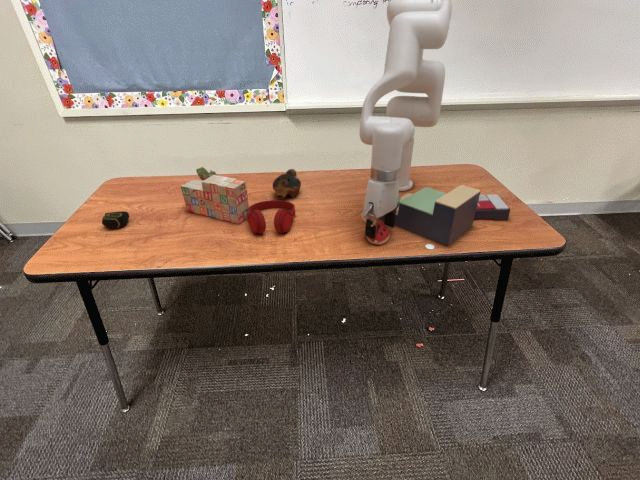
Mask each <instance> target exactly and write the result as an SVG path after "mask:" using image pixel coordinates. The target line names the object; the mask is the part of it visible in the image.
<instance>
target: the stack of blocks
mask: <svg viewBox="0 0 640 480" xmlns="http://www.w3.org/2000/svg"><path fill="white" fill-rule="evenodd" d="M217 175H218V174H217ZM217 175H212V176H211V177H209V178H207V179H206V180H204V181H203V180H201V179H200V180H199V179H191V180H189V181H187V182H185V183H184V184H182V185H180V189H181V194H182V196H183V200H184V205H185V208H186V211H187V212H190V213H194V214H198V215H201V216H205V217H211V218H214V219H218V220H222V221H225V222H229V223H233V224H237V225H240V224H241V223H242V222H244V221H245V220H246V218H247V211H248V208H249V207H250V206H249V205H250V204H249V197H248V196H249V195H248V190H247V181H246V180H243V179H238V178H236V177H235V178H234V177H229V176H223V175H222V176H221V175H218V176H217Z"/></svg>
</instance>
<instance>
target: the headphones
mask: <svg viewBox="0 0 640 480" xmlns="http://www.w3.org/2000/svg"><path fill="white" fill-rule="evenodd" d="M266 209H278V210H277V211H276V213H275V214H274V218H273V226H274V230H275V231H276V232H277V233H280V234H281V233H282V234H283V233H288V232H289V231H290V230H291V227H292V224H293V222H294V218H296V205H295V204H294V203H293V202H290V201H287V200H282V199H278V200H277V199H274V200H272V199H271V200H264V201H259V202H256V203H254V204H251V205H250V206H249V208H248V211H247V218H246V219H245V220H246V221H248V224H249V227H250V230H251V232H252V233H253V234H257V235H260V234H261V235H262V234H263V233H265V232H266V228H267V222H266V218H265V216H264V213H263V212H262V211H261V210H266Z"/></svg>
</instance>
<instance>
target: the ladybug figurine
mask: <svg viewBox="0 0 640 480" xmlns="http://www.w3.org/2000/svg"><path fill="white" fill-rule="evenodd" d="M375 226H376V235H375V239H372V238H369V237H367V236H365V237H366V240H367V242H369V243H370V244H373V245H377V246H381V245H384V244H386V243H387V242H388V241H389V240H390V237H391V232H390V230H389V228H388V226H386V225H385V224H384V222H382V221H376V224H375Z"/></svg>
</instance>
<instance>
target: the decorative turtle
mask: <svg viewBox="0 0 640 480" xmlns="http://www.w3.org/2000/svg"><path fill="white" fill-rule="evenodd" d="M301 186H302V182H301V180H300V179H299V177H297V171H296V170H295V169H294V168H290V169H288V170H287V171H286V172H285V173H283V174H280V175H278V176H277V177H276V178H275V179H274V180H273V182H272V189H273V190H274V191H275V196H276V198H277V199H278V200H284V199H285V198H286V197H287V196H289V197H290V198H292V199H294V198H295V197H296V196H297V194H298V193H299V192H300V189H301Z"/></svg>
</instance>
